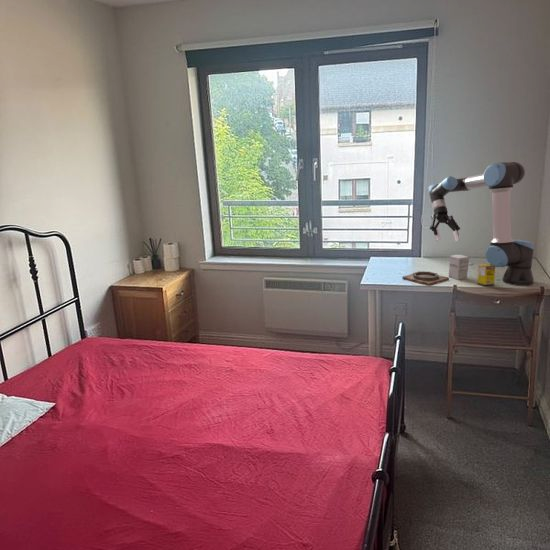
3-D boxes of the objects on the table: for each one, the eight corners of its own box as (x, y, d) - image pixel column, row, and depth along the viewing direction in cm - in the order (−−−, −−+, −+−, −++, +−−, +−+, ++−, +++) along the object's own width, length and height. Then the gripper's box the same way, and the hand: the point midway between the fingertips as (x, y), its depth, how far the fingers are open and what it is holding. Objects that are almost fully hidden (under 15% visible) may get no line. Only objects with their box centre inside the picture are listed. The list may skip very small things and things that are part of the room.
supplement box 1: (448, 276, 283) (449, 255, 280) (458, 275, 286) (459, 254, 283) (457, 280, 277) (459, 258, 273) (467, 278, 279) (469, 256, 276)
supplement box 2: (494, 285, 265) (495, 265, 262) (484, 286, 263) (486, 266, 261) (486, 283, 270) (487, 263, 268) (477, 284, 268) (478, 264, 266)
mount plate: (448, 279, 278) (449, 274, 277) (428, 285, 268) (429, 280, 267) (422, 273, 292) (422, 268, 291) (402, 278, 282) (402, 274, 281)
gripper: (452, 212, 304) (461, 244, 297) (418, 210, 296) (426, 242, 288) (460, 206, 298) (469, 238, 290) (426, 204, 289) (434, 236, 282)
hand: (448, 240), depth 289 cm, fingers open, 13 cm apart
